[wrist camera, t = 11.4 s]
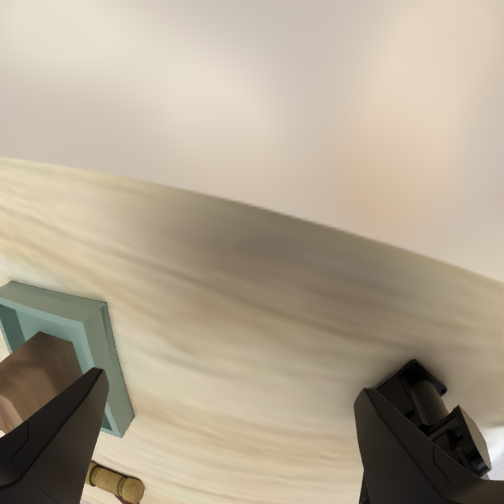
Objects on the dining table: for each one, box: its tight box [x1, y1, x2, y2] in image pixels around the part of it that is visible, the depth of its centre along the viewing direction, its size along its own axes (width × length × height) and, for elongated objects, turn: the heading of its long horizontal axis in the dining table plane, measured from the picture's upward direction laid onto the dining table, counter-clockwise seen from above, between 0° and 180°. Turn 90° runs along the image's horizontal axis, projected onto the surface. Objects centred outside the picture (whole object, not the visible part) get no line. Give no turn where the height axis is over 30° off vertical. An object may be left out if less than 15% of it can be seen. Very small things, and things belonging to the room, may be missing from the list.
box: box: [0, 281, 135, 438], centre depth 23 cm, size 14×14×4 cm
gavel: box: [85, 461, 144, 504], centre depth 34 cm, size 21×5×10 cm
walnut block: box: [0, 331, 83, 428], centre depth 19 cm, size 5×5×10 cm
